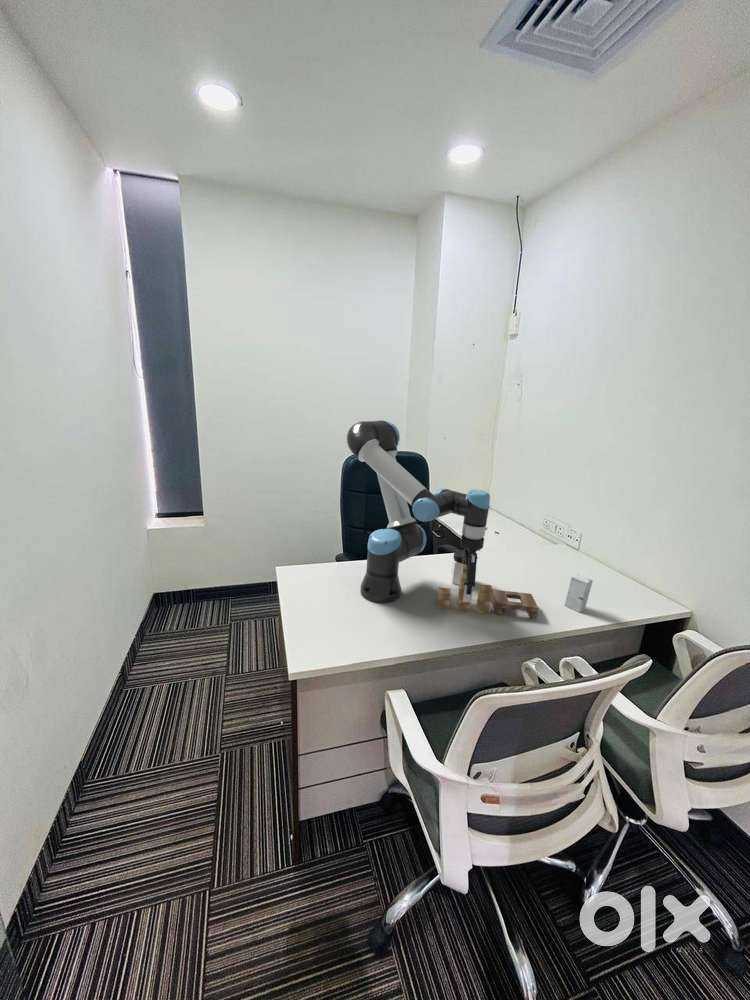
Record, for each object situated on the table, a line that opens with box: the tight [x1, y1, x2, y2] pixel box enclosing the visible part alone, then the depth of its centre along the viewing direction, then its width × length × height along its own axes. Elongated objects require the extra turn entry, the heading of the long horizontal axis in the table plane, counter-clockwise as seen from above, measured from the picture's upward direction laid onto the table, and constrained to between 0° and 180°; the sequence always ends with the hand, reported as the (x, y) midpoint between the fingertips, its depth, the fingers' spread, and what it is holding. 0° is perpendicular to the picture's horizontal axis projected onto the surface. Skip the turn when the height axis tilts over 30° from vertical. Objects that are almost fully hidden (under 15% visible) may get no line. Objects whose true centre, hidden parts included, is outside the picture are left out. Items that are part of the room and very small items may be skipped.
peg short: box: [436, 587, 452, 610], centre depth 147 cm, size 4×4×6 cm
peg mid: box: [475, 583, 494, 615], centre depth 145 cm, size 4×4×9 cm
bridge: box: [491, 589, 539, 620], centre depth 148 cm, size 14×10×4 cm
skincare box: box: [564, 573, 593, 613], centre depth 151 cm, size 6×4×12 cm
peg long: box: [456, 564, 471, 612], centre depth 145 cm, size 4×4×16 cm
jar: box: [449, 549, 464, 586], centre depth 166 cm, size 9×8×12 cm
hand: (465, 592), depth 146 cm, fingers open, 13 cm apart
